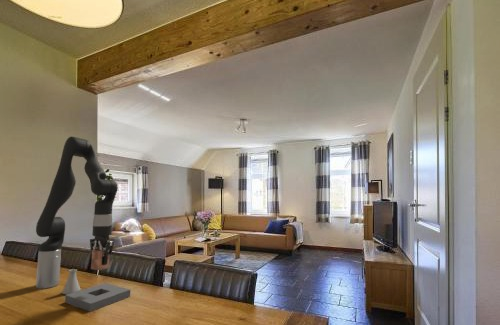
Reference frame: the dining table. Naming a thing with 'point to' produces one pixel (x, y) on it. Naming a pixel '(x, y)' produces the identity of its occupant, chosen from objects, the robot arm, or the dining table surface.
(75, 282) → the flask
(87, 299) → the charcoal base
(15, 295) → the dining table surface
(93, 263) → the terracotta block
